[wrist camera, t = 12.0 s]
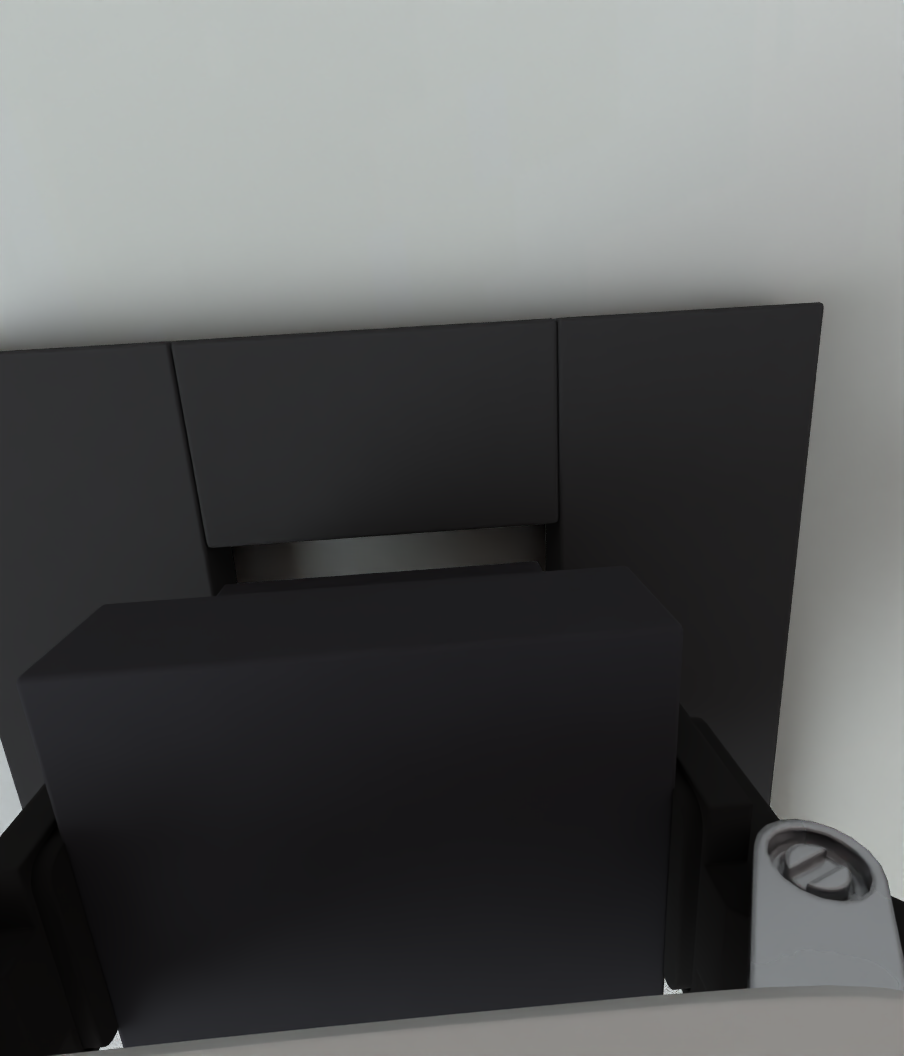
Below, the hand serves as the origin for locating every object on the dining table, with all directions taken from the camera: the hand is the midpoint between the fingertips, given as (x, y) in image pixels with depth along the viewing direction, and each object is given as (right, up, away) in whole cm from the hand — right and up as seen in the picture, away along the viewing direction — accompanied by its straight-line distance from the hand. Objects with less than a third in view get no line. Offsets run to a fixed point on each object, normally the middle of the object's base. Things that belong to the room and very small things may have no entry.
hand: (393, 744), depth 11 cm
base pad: (0, +1, +3) cm, 3 cm away
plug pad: (0, 0, +1) cm, 1 cm away
